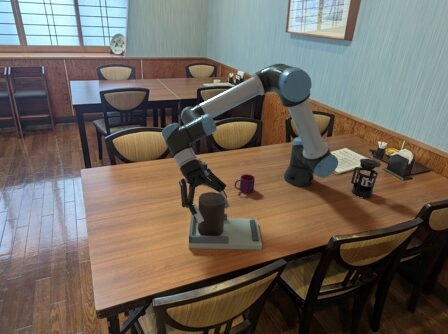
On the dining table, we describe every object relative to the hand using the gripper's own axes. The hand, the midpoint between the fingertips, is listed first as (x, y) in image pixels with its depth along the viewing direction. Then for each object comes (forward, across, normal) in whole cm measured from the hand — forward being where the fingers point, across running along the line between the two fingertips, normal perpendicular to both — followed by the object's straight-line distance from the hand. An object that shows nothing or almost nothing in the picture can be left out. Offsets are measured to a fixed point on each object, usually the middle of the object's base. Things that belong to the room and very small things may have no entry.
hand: (215, 214), depth 110 cm
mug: (-4, -35, -18) cm, 40 cm away
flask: (-20, -27, -35) cm, 48 cm away
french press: (+25, -77, +10) cm, 81 cm away
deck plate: (+8, -4, -6) cm, 11 cm away
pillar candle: (+4, 0, -8) cm, 9 cm away
